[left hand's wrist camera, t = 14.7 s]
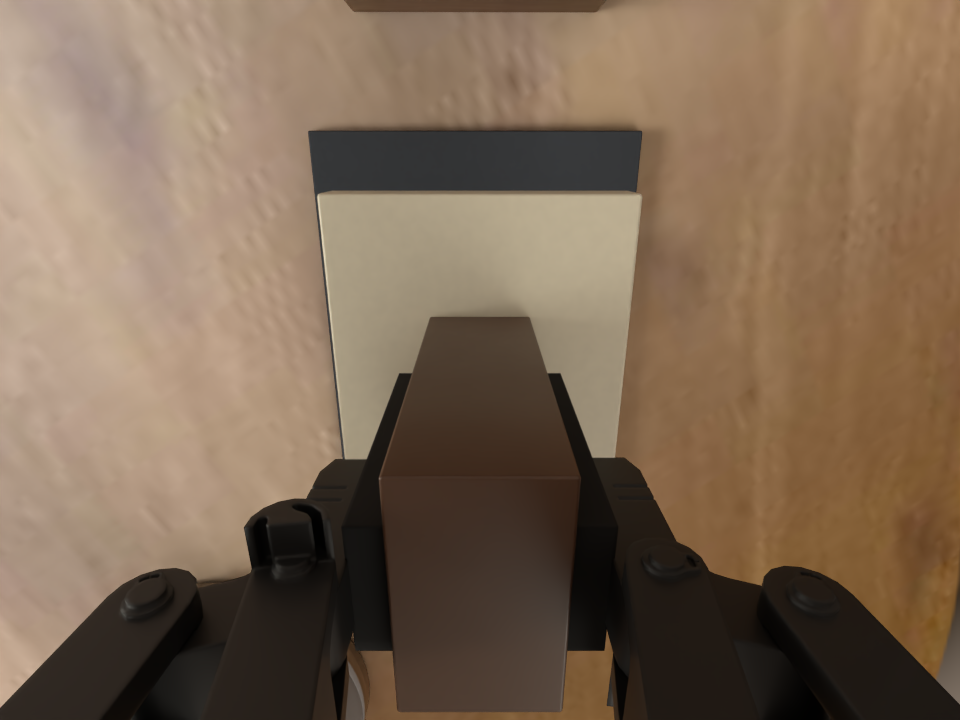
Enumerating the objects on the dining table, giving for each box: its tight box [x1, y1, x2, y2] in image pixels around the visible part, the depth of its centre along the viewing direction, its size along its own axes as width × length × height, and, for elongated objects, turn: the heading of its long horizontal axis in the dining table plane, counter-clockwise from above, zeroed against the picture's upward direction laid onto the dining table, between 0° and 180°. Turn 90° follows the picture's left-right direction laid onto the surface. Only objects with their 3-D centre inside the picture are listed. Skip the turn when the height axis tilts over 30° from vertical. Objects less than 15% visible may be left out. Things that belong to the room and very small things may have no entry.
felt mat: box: [308, 131, 642, 459], centre depth 23 cm, size 16×13×1 cm
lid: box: [317, 191, 642, 712], centre depth 13 cm, size 12×9×10 cm
